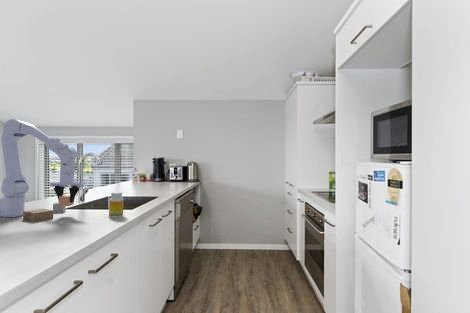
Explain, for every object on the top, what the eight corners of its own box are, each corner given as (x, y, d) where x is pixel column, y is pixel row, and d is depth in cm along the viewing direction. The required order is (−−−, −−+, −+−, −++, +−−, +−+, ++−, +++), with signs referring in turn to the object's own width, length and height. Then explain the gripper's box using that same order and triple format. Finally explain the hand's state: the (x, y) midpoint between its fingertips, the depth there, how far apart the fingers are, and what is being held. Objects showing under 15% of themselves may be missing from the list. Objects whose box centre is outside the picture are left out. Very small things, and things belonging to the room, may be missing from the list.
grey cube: (52, 212, 139) (53, 203, 139) (55, 211, 143) (55, 202, 144) (63, 212, 141) (63, 203, 141) (65, 210, 145) (65, 202, 145)
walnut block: (22, 220, 123) (23, 211, 123) (42, 217, 130) (42, 208, 130) (33, 222, 119) (34, 213, 119) (53, 219, 126) (53, 210, 126)
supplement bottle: (107, 216, 134) (107, 192, 135) (120, 214, 138) (121, 191, 139) (110, 218, 130) (111, 193, 130) (125, 216, 134) (125, 193, 134)
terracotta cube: (58, 206, 130) (58, 196, 130) (63, 204, 134) (64, 195, 134) (68, 206, 130) (69, 196, 130) (73, 204, 135) (73, 195, 135)
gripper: (46, 173, 128) (45, 203, 128) (79, 174, 129) (78, 203, 129) (54, 172, 135) (53, 201, 135) (86, 173, 136) (85, 201, 136)
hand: (66, 202), depth 132 cm, fingers closed on terracotta cube, 4 cm apart
